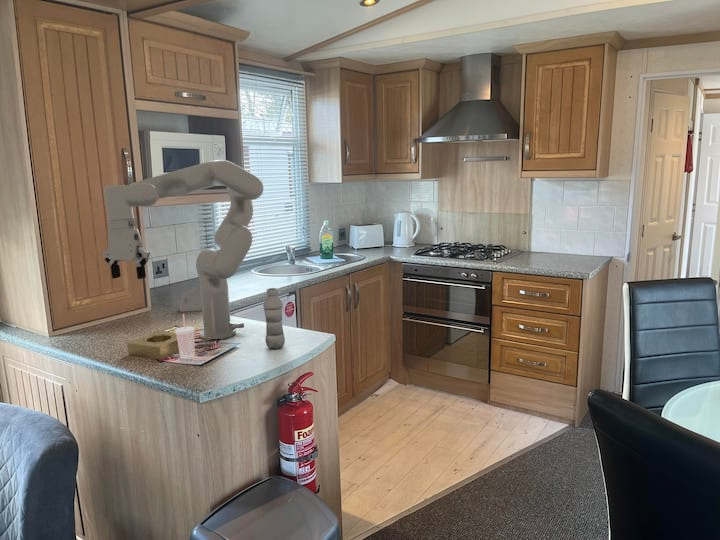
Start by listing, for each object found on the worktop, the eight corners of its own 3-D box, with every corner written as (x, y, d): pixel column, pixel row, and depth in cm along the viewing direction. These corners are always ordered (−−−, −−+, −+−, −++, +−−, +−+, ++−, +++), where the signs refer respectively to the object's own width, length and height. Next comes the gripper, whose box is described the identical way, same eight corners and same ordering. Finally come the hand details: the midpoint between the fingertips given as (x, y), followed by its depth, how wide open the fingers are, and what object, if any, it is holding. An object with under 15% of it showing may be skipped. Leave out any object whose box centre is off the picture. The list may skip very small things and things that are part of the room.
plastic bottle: (267, 351, 173) (263, 292, 170) (264, 345, 180) (261, 288, 176) (286, 349, 175) (283, 290, 171) (283, 343, 182) (280, 286, 178)
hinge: (178, 311, 227) (178, 288, 229) (180, 312, 232) (180, 290, 233) (218, 309, 230) (217, 286, 231) (220, 310, 234) (219, 287, 236)
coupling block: (159, 341, 187) (158, 330, 186) (190, 345, 182) (189, 334, 181) (128, 354, 175) (127, 342, 174) (161, 359, 169) (159, 347, 168)
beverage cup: (180, 360, 168) (176, 317, 165) (174, 355, 173) (170, 313, 170) (199, 356, 171) (196, 314, 169) (193, 351, 176) (189, 310, 174)
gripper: (152, 223, 167) (159, 275, 170) (107, 223, 172) (115, 275, 175) (136, 226, 160) (144, 281, 163) (90, 226, 165) (98, 280, 168)
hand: (129, 278), depth 169 cm, fingers open, 9 cm apart
